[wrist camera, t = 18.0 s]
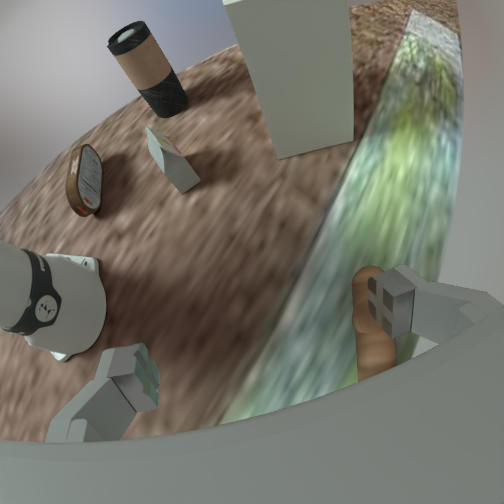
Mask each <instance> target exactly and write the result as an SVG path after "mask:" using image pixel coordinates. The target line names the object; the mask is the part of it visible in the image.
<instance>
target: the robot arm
mask: <svg viewBox="0 0 504 504" xmlns="http://www.w3.org/2000/svg"><path fill="white" fill-rule="evenodd" d="M368 289H369V290H370V291H371V294H370V296H369V297H368V306H369V310H370V313H371V315H372V317H373V318H374V320H375V321H376V322H379V323H382V329H383V330H384V331H385V332H386V334H387V335H388V336H389V337H390V338H391V339H393V338H396V337H398V336H401V335H403V334H405V333H408V332H410V331H411V332H412V333H414V334H417V335H419V336H422V337H424V338H426V339H429V340H431V341H433V342H436V343H438V344H439V345H437V346H436V347H434V348H432V349H430V350H428V351H426V352H424V353H422V354H420V355H418V356H416V357H414V358H412V359H410V360H408V361H406V362H404V363H402V364H400V365H397V366H395V367H393V368H391V369H389V370H386V371H384V372H382V373H380V374H377V375H375V376H373V377H370V378H368V379H365V380H363V381H360V382H358V383H355V384H353V385H350V386H348V387H345V388H343V389H340V390H337V391H335V392H332V393H329V394H326V395H323V396H321V397H318V398H315V399H312V400H309V401H306V402H303V403H300V404H297V405H294V406H290V407H287V408H284V409H280V410H277V411H274V412H270V413H267V414H263V415H259V416H255V417H252V418H248V419H244V420H240V421H236V422H231V423H227V424H222V425H218V426H213V427H208V428H203V429H198V430H193V431H187V432H181V433H175V434H169V435H162V436H154V437H147V438H138V439H128V440H120V439H121V437H122V436H123V434H124V433H125V431H126V430H127V428H128V426H129V425H130V423H131V422H132V420H133V419H134V417H135V415H136V414H137V413H136V412H142V411H148V410H153V409H158V400H159V394H158V392H157V391H156V389H157V388H158V386H159V384H160V378H159V372H158V369H157V367H156V364H155V363H154V361H153V360H152V359H150V358H148V350H147V348H146V346H145V345H144V344H143V343H136V344H131V345H126V346H121V347H117V348H111V349H106V350H104V351H103V353H102V356H101V359H100V362H99V366H98V369H97V372H96V375H95V379H94V380H92V381H90V382H89V383H88V384H87V385H86V386H85V387H84V388H83V389H82V390H81V391H80V392H79V393H78V394H77V395H76V396H75V397H74V398H73V399H72V400H71V401H70V402H69V403H68V404H67V405H66V406H65V407H64V408H63V409H62V410H61V411H60V412H59V413H58V414H57V415H56V416H55V417H54V418H53V419H52V420H51V423H50V427H49V430H48V433H47V436H46V440H45V443H42V442H21V441H8V440H0V504H504V305H503V304H501V303H500V302H499V301H497V300H496V299H495V298H493V297H492V296H491V295H489V294H488V293H487V292H484V291H479V290H474V289H468V288H463V287H458V286H453V285H447V284H443V283H438V282H430V283H429V282H428V281H426V280H425V279H424V278H422V277H421V276H420V275H418V274H417V273H416V272H414V271H413V270H412V269H410V268H409V267H408V266H406V265H400V266H398V267H395V268H393V269H391V270H388V271H386V272H383V273H380V274H378V275H375V276H372V277H369V278H368ZM105 315H106V296H105V291H104V287H103V285H102V282H101V280H100V277H99V265H98V261H97V259H95V258H92V257H82V256H72V255H62V254H51V253H48V254H47V255H46V256H45V255H38V254H37V253H35V252H33V251H30V250H26V249H18V248H16V247H14V246H12V245H10V244H8V243H6V242H4V241H2V240H1V239H0V327H1V328H2V329H4V330H5V331H8V332H10V333H12V334H15V335H23V336H24V337H25V339H26V340H27V341H28V343H29V345H30V346H33V347H36V348H40V349H43V350H47V351H51V353H52V354H53V355H54V357H55V358H56V359H57V360H58V361H62V362H64V361H66V360H67V359H68V358H69V357H70V356H71V355H73V354H76V353H81V352H83V351H85V350H87V349H88V348H89V347H91V346H92V345H93V343H94V342H95V341H96V339H97V338H98V336H99V334H100V332H101V330H102V327H103V324H104V320H105Z"/></svg>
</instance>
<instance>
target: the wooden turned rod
mask: <svg viewBox="0 0 504 504" xmlns="http://www.w3.org/2000/svg"><path fill="white" fill-rule="evenodd" d="M383 272H384V271H383V270H381V269H380V268H378V267H375V266H367V267H363V268H362V269H360V270H359V271H358V272H357V273H356V274H355V276H354V277H353V280H352V295H353V306H354V311H353V316H352V321H353V326H354V328H355V331H356V347H357V368H358V382H360V381H363V380H365V379H368V378H370V377H373V376H375V375H377V374H380V373H382V372H384V371H386V370H389V369H391V368H393V367H395V366H397V365H396V347H395V338H393V339H391V338H390V337H389V336H388V335H387V334H386V332H385V331H384V330H383V329H382V323H379V322H376V321H375V320H374V318H373V317H372V315H371V313H370V310H369V306H368V297H369V296H370V294H371V291H370V290H369V289H368V278H369V277H372V276H375V275H378V274H380V273H383Z"/></svg>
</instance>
